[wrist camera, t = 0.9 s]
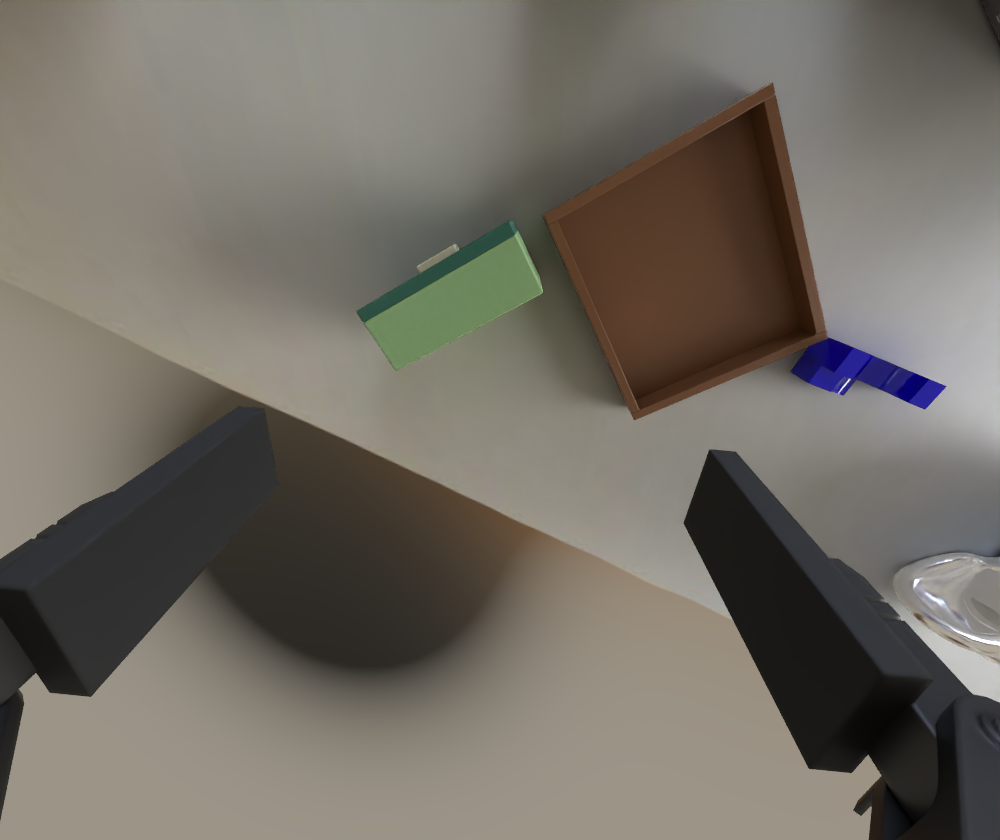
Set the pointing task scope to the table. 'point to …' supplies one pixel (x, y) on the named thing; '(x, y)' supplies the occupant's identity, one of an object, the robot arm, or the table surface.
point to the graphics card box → (993, 14)
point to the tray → (694, 258)
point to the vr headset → (956, 599)
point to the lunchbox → (453, 296)
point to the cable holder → (862, 373)
